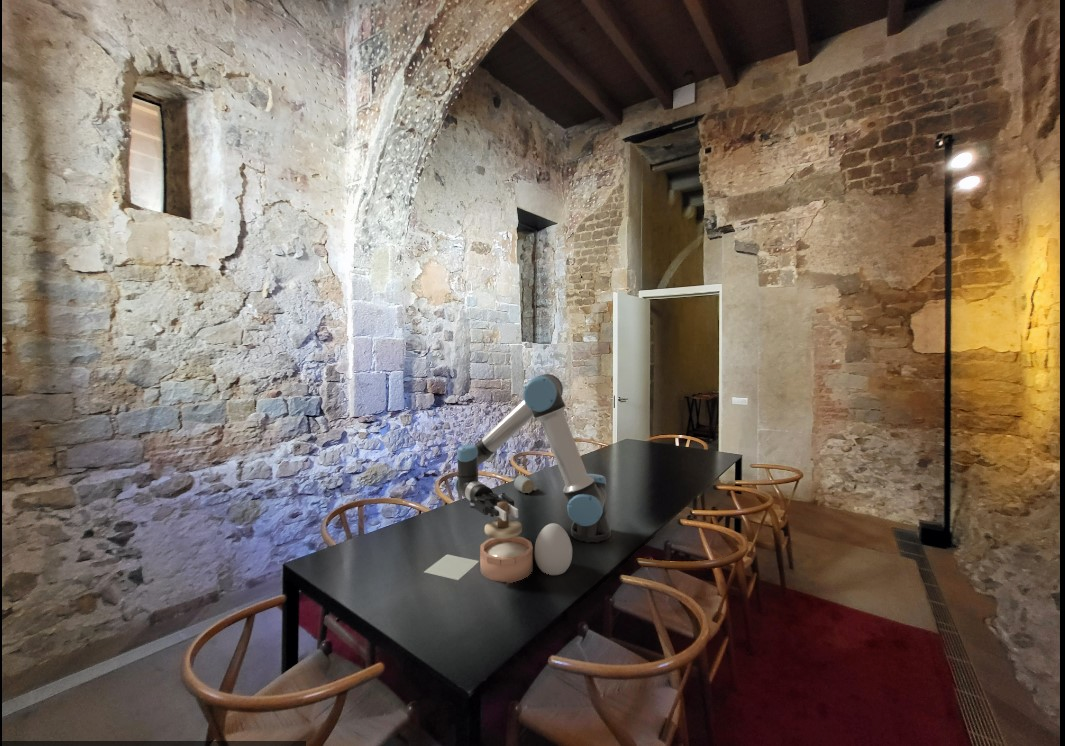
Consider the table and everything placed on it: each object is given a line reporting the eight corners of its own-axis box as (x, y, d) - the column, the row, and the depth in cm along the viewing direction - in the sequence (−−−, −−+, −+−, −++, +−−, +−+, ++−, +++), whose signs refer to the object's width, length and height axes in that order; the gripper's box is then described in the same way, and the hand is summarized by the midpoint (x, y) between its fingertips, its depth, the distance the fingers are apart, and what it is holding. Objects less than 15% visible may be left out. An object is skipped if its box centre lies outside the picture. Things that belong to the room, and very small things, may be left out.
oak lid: (527, 526, 146) (527, 499, 146) (511, 541, 135) (511, 512, 135) (495, 521, 151) (495, 495, 151) (477, 535, 140) (477, 507, 140)
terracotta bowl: (540, 562, 148) (540, 540, 148) (519, 588, 133) (518, 563, 132) (495, 553, 155) (495, 532, 155) (470, 576, 140) (469, 553, 139)
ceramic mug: (522, 495, 214) (522, 480, 214) (513, 491, 221) (513, 476, 221) (540, 491, 220) (540, 476, 220) (531, 487, 227) (531, 472, 227)
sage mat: (479, 562, 149) (479, 561, 149) (458, 581, 137) (458, 580, 137) (446, 555, 154) (446, 554, 154) (423, 573, 142) (423, 572, 142)
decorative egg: (567, 558, 151) (566, 515, 150) (576, 576, 139) (576, 530, 138) (531, 561, 149) (531, 518, 148) (538, 580, 137) (538, 533, 136)
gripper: (500, 500, 163) (533, 521, 143) (457, 509, 154) (487, 533, 134) (499, 480, 162) (533, 498, 142) (457, 488, 154) (486, 508, 134)
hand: (511, 515), depth 138 cm, fingers closed on oak lid, 3 cm apart
